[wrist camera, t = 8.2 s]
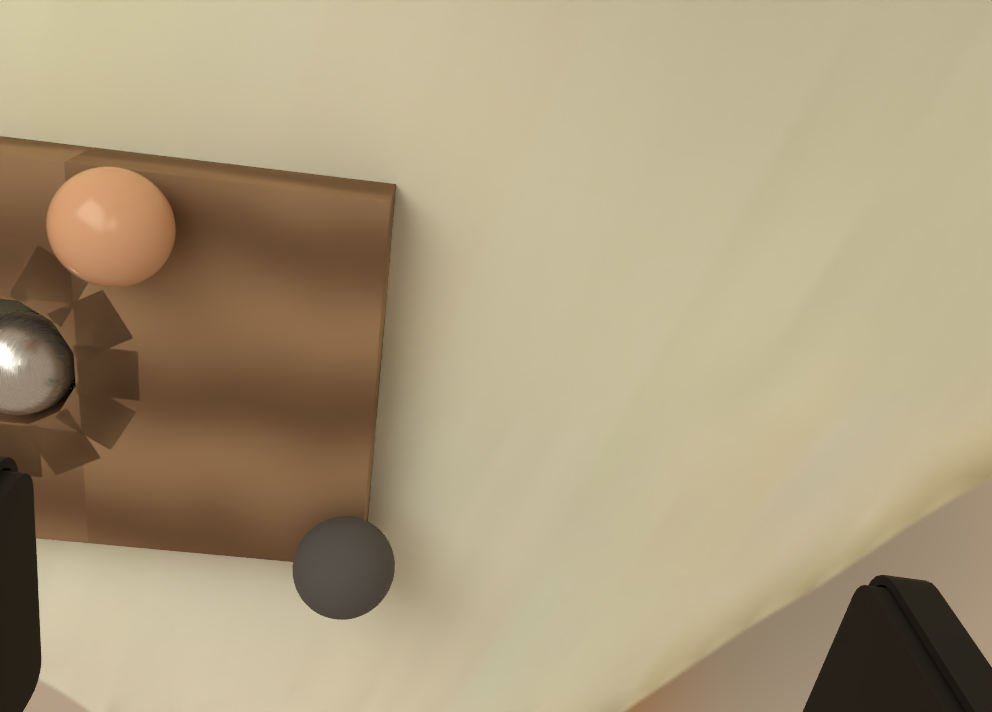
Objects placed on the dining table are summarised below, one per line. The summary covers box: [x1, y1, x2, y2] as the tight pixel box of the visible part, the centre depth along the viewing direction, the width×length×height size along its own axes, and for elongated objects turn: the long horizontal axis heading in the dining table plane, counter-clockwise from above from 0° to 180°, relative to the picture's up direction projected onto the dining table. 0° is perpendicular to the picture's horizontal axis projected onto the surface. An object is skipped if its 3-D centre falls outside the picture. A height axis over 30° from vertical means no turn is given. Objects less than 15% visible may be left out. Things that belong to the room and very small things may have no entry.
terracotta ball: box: [46, 167, 176, 287], centre depth 31 cm, size 4×4×4 cm
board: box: [0, 136, 396, 562], centre depth 36 cm, size 16×19×2 cm
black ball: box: [293, 516, 395, 619], centre depth 36 cm, size 4×4×4 cm
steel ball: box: [0, 311, 75, 415], centre depth 35 cm, size 4×4×4 cm
